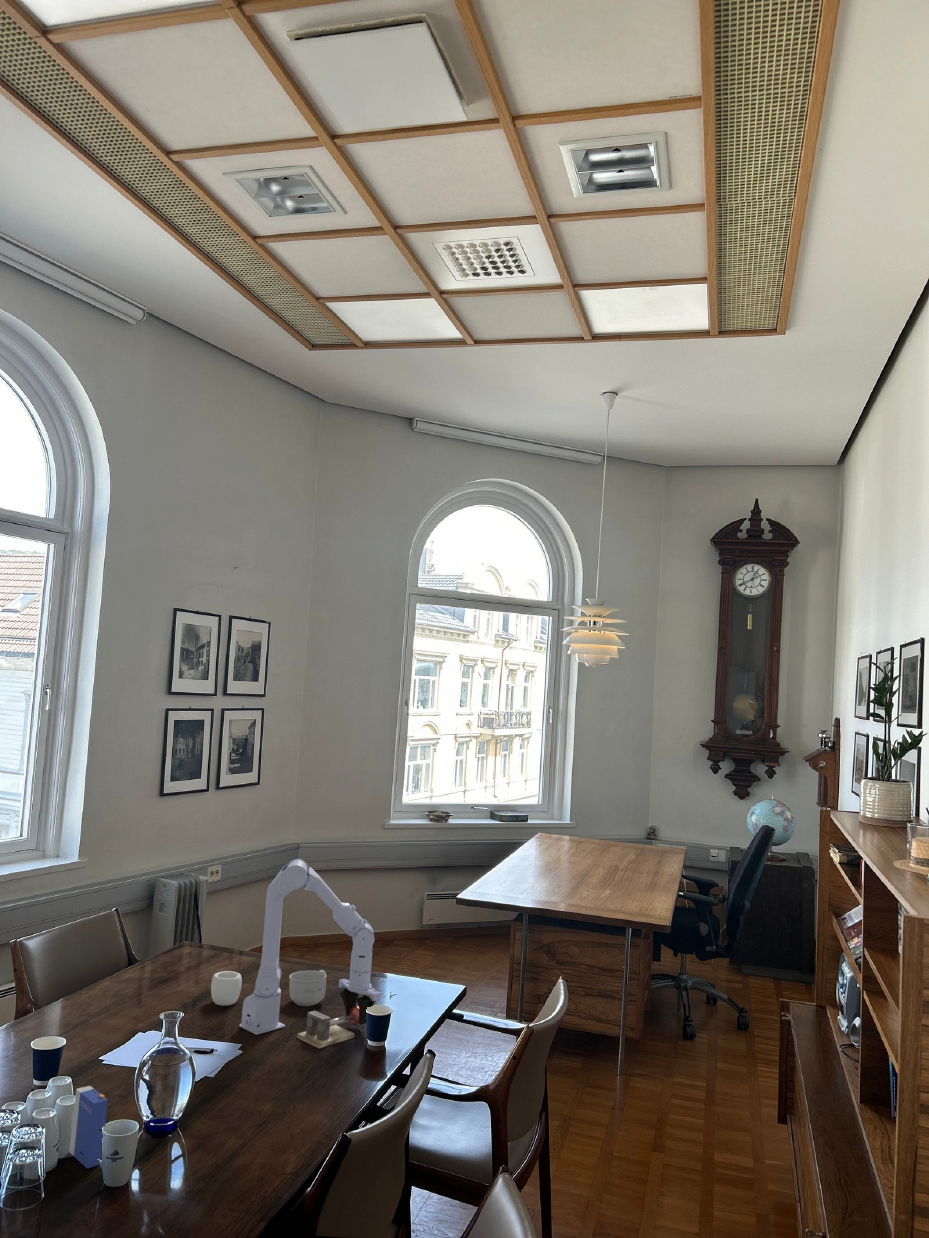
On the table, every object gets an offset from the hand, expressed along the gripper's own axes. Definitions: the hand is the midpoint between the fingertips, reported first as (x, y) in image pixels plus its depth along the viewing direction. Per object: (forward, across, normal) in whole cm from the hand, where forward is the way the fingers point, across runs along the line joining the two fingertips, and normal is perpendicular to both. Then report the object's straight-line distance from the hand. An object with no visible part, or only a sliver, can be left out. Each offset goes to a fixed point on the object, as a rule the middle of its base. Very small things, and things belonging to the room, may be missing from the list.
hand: (356, 1020), depth 245 cm
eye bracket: (+2, 0, +12) cm, 12 cm away
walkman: (+2, -18, +84) cm, 86 cm away
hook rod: (+1, 0, +6) cm, 6 cm away
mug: (+2, +39, +16) cm, 42 cm away
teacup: (+2, +24, -3) cm, 24 cm away
